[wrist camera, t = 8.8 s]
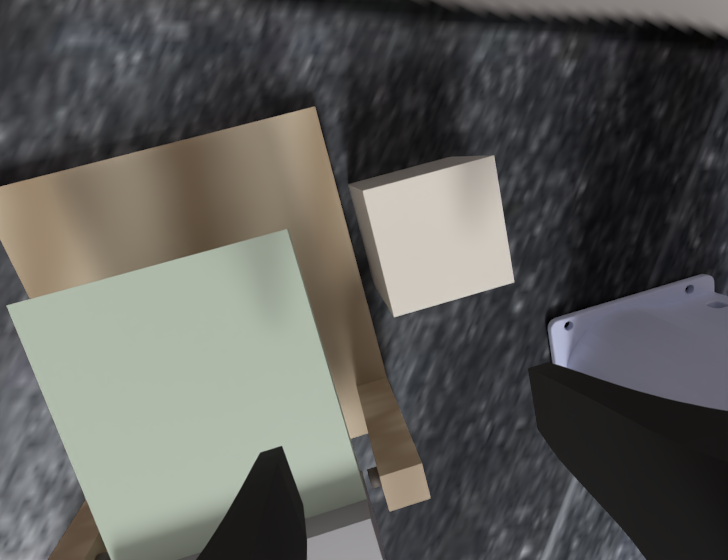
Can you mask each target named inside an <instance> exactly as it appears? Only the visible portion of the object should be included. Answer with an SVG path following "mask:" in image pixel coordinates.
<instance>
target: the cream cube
mask: <svg viewBox="0 0 728 560" xmlns="http://www.w3.org/2000/svg"><path fill="white" fill-rule="evenodd" d="M348 186H349V190H350V194H351V198H352V201H353V205H354V209H355V213H356V217H357V221H358V225H359V229H360V233H361V236H362V240H363V244H364V248H365V252H366V256H367V260H368V264H369V268H370V271H371V275H372V279H373V283H374V285H375V287H376V289H377V290H378V292H379V293H380V295H381V297H382V298H383V300H384V302H385V303H386V305H387V307H388V308H389V310H390V312H391V313H392V315H393V316H394V317H397V316H400V315H404V314H407V313H410V312H414V311H417V310H421V309H424V308H428V307H431V306H434V305H438V304H441V303H445V302H448V301H452V300H455V299H458V298H462V297H465V296H469V295H472V294H476V293H479V292H483V291H486V290H489V289H493V288H496V287H500V286H503V285H507V284H510V283H513V282H514V277H513V271H512V265H511V258H510V252H509V246H508V240H507V233H506V227H505V221H504V215H503V208H502V202H501V196H500V190H499V183H498V177H497V171H496V165H495V158H494V155H490V156H459V157H447V158H444V159H440V160H436V161H433V162H429V163H425V164H421V165H418V166H414V167H410V168H407V169H403V170H399V171H395V172H392V173H388V174H384V175H380V176H377V177H373V178H369V179H366V180H362V181H358V182H354V183H351V184H348Z"/></svg>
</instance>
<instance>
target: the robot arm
mask: <svg viewBox="0 0 728 560" xmlns="http://www.w3.org/2000/svg"><path fill="white" fill-rule="evenodd" d="M687 286H688V289H687V290H686V291H685V289H686V287H687ZM568 321H569V325H568V326H567V327H566V328H564V325H565V323H566V322H568ZM548 335H549V342H550V349H551V356H552V363H549V362H547V363H544V364H541V365H538V366H534V367H531V368H528V371H529V377H530V384H531V390H532V397H533V403H534V409H535V416H536V422H537V428H538V430H539V431H540V433H541V434H542V436H543V437H544V439H545V440H546V442H547V443H548V445H549V446H550V447H551V449H552V450H553V452H554V453H555V454H556V456H557V457H558V458H559V460H560V461H561V462H562V463H563V464H564V465H565V466H566V467H567V469H568V470H569V471H570V472H571V473H572V474H573V475H574V476H575V477H576V479H577V480H578V481H579V482H580V483H581V484H582V485H583V486H584V487H585V488H586V489H587V491H588V492H589V493H590V494H591V495H592V496H593V497H594V498H595V499H596V500H597V501H598V503H599V504H600V505H601V506H602V507H603V508H604V509H605V510H606V511H607V512H608V513H609V515H610V516H611V517H612V518H613V519H614V520H615V521H616V522H617V523H618V524H619V526H620V527H621V528H622V529H623V530H624V532H625V533H626V534H627V535H628V536H629V537H630V539H631V540H632V541H633V542H634V544H635V545H636V546H637V548H638V549H639V550H640V552H641V553H642V554H643V556H644V557H645V558H646V559H647V560H728V296H725V295H722V294H719V293H716V292H714V279H713V277H712V276H709V275H706V274H700V275H697V276H693V277H690V278H687V279H683V280H680V281H677V282H673V283H670V284H666V285H663V286H660V287H656V288H653V289H650V290H646V291H643V292H640V293H636V294H633V295H630V296H626V297H623V298H620V299H616V300H613V301H610V302H606V303H603V304H600V305H596V306H593V307H590V308H586V309H583V310H580V311H576V312H573V313H570V314H566V315H563V316H560V317H556V318H554V319H552V320H551V321H550V322H549V324H548ZM196 560H307V535H306V524H305V515H304V506H303V502H302V500H301V497H300V494H299V491H298V489H297V486H296V483H295V480H294V478H293V475H292V472H291V469H290V466H289V464H288V461H287V458H286V455H285V453H284V450H283V447H282V446H279V447H276V448H273V449H270V450H267V451H263V452H260V454H259V455H258V457H257V459H256V461H255V462H254V464H253V466H252V468H251V470H250V472H249V474H248V476H247V477H246V479H245V481H244V483H243V485H242V487H241V489H240V490H239V492H238V494H237V496H236V497H235V499H234V501H233V503H232V504H231V506H230V508H229V510H228V511H227V513H226V515H225V516H224V518H223V520H222V521H221V523H220V524H219V526H218V528H217V529H216V531H215V532H214V534H213V535H212V537H211V539H210V540H209V542H208V543H207V545H206V546H205V548H204V549H203V550H202V552H201V553H200V555H199V556H198V557H197V559H196Z"/></svg>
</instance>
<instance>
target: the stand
mask: <svg viewBox="0 0 728 560" xmlns="http://www.w3.org/2000/svg"><path fill="white" fill-rule="evenodd" d="M285 229H289V232H290V236H291V239H292V242H293V246H294V249H295V253H296V256H297V259H298V263H299V266H300V269H301V273H302V276H303V280H304V283H305V286H306V290H307V293H308V297H309V300H310V303H311V307H312V310H313V313H314V317H315V320H316V324H317V327H318V330H319V334H320V337H321V341H322V344H323V347H324V351H325V354H326V358H327V361H328V364H329V368H330V371H331V374H332V378H333V381H334V385H335V388H336V391H337V395H338V398H339V402H340V405H341V408H342V412H343V415H344V418H345V422H346V425H347V429H348V432H349V435H350V439H351V438H354V437H358V436H361V435H364V434H367V433H368V434H369V438H370V442H371V446H372V450H373V454H374V457H375V461H376V465H377V467H374V468H370V469H367V471H368V475H369V479H370V483H371V486H372V489H373V488H376V487H379V486H382V487H383V491H384V494H385V498H386V501H387V504H388V508H389V511H393V510H396V509H399V508H402V507H405V506H408V505H412V504H415V503H418V502H421V501H424V500H427V499H430V498H431V497H430V493H429V490H428V486H427V482H426V478H425V474H424V470H423V466H422V463H421V460H420V458H419V455H418V453H417V450H416V448H415V445H414V443H413V440H412V438H411V436H410V433H409V431H408V428H407V426H406V423H405V421H404V418H403V416H402V413H401V411H400V409H399V406H398V404H397V401H396V399H395V396H394V394H393V391H392V389H391V386H390V384H389V382H388V379H387V376H386V372H385V369H384V365H383V361H382V357H381V354H380V350H379V346H378V342H377V338H376V335H375V331H374V327H373V323H372V320H371V316H370V312H369V308H368V304H367V301H366V297H365V293H364V289H363V286H362V282H361V278H360V274H359V270H358V267H357V263H356V259H355V255H354V252H353V248H352V244H351V240H350V237H349V233H348V229H347V225H346V221H345V218H344V214H343V210H342V206H341V203H340V199H339V195H338V191H337V187H336V184H335V180H334V176H333V172H332V169H331V165H330V161H329V157H328V153H327V150H326V146H325V142H324V138H323V135H322V131H321V127H320V123H319V119H318V116H317V112H316V108H315V107H311V108H307V109H303V110H299V111H295V112H291V113H287V114H283V115H279V116H275V117H271V118H267V119H263V120H260V121H256V122H252V123H248V124H244V125H240V126H236V127H232V128H228V129H224V130H220V131H216V132H212V133H209V134H205V135H201V136H197V137H193V138H189V139H185V140H181V141H177V142H173V143H169V144H165V145H161V146H158V147H154V148H150V149H146V150H142V151H138V152H134V153H130V154H126V155H122V156H118V157H114V158H110V159H106V160H103V161H99V162H95V163H91V164H87V165H83V166H79V167H75V168H71V169H67V170H63V171H59V172H55V173H52V174H48V175H44V176H40V177H36V178H32V179H28V180H24V181H20V182H16V183H12V184H8V185H4V186H1V187H0V240H1V242H2V244H3V246H4V248H5V250H6V252H7V254H8V256H9V258H10V260H11V262H12V264H13V266H14V268H15V270H16V272H17V274H18V276H19V278H20V280H21V282H22V284H23V286H24V288H25V290H26V292H27V294H28V296H29V298H30V299H32V298H36V297H40V296H43V295H47V294H51V293H54V292H58V291H62V290H65V289H69V288H73V287H76V286H80V285H84V284H87V283H91V282H95V281H98V280H102V279H106V278H109V277H113V276H117V275H120V274H124V273H128V272H131V271H135V270H139V269H142V268H146V267H150V266H153V265H157V264H160V263H164V262H168V261H171V260H175V259H179V258H182V257H186V256H190V255H193V254H197V253H201V252H204V251H208V250H212V249H215V248H219V247H223V246H226V245H230V244H234V243H237V242H241V241H245V240H248V239H252V238H256V237H259V236H263V235H267V234H270V233H274V232H278V231H281V230H285ZM48 560H111V559H110V556H109V554H108V551H107V549H106V547H105V544H104V542H103V539H102V537H101V534H100V532H99V530H98V527H97V525H96V522H95V520H94V517H93V515H92V513H91V510H90V508H89V505H88V503H87V500H85V501H84V503H83V505H82V506H81V508H80V509H79V511H78V513H77V514H76V516H75V517H74V519H73V520H72V522H71V524H70V525H69V527H68V528H67V530H66V532H65V533H64V535H63V536H62V538H61V539H60V541H59V543H58V544H57V546H56V547H55V549H54V551H53V552H52V554H51V555H50V557H49V558H48Z"/></svg>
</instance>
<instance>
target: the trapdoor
mask: <svg viewBox="0 0 728 560" xmlns="http://www.w3.org/2000/svg"><path fill="white" fill-rule="evenodd" d="M7 308H8V311H9V313H10V315H11V318H12V320H13V323H14V325H15V328H16V330H17V332H18V335H19V337H20V340H21V342H22V345H23V347H24V349H25V352H26V354H27V357H28V359H29V362H30V364H31V367H32V369H33V371H34V374H35V376H36V379H37V381H38V384H39V386H40V388H41V391H42V393H43V396H44V398H45V401H46V403H47V405H48V408H49V410H50V413H51V415H52V418H53V420H54V422H55V425H56V427H57V430H58V432H59V435H60V437H61V440H62V442H63V444H64V447H65V449H66V452H67V454H68V457H69V459H70V461H71V464H72V466H73V469H74V471H75V474H76V476H77V478H78V481H79V483H80V486H81V488H82V491H83V493H84V495H85V498H86V500H87V503H88V505H89V508H90V510H91V513H92V515H93V517H94V520H95V522H96V525H97V527H98V530H99V532H100V534H101V537H102V539H103V542H104V544H105V547H106V549H107V551H108V554H109V556H110V559H111V560H196V559H197V557H198V556H199V555H200V553H201V552H202V550H203V549H204V548H205V546H206V545H207V543H208V542H209V540H210V539H211V537H212V535H213V534H214V532H215V531H216V529H217V528H218V526H219V524H220V523H221V521H222V520H223V518H224V516H225V515H226V513H227V511H228V510H229V508H230V506H231V504H232V503H233V501H234V499H235V497H236V496H237V494H238V492H239V490H240V489H241V487H242V485H243V483H244V481H245V479H246V477H247V476H248V474H249V472H250V470H251V468H252V466H253V464H254V462H255V461H256V459H257V457H258V455H259V454H260V452H263V451H267V450H270V449H273V448H276V447H279V446H282V447H283V450H284V453H285V455H286V458H287V461H288V464H289V466H290V469H291V472H292V475H293V478H294V480H295V483H296V486H297V489H298V491H299V494H300V497H301V500H302V502H303V506H304V515H305V524H306V535H307V560H385V555H384V550H383V545H382V540H381V536H380V531H379V528H378V525H377V521H376V518H375V514H374V511H373V508H372V504H371V501H370V497H369V494H368V491H367V487H366V484H365V480H364V477H363V474H362V471H360V469H359V466H358V463H357V459H356V456H355V452H354V449H353V446H352V442H351V439H350V435H349V432H348V429H347V425H346V422H345V418H344V415H343V412H342V408H341V405H340V402H339V398H338V395H337V391H336V388H335V385H334V381H333V378H332V374H331V371H330V368H329V364H328V361H327V358H326V354H325V351H324V347H323V344H322V341H321V337H320V334H319V330H318V327H317V324H316V320H315V317H314V313H313V310H312V307H311V303H310V300H309V297H308V293H307V290H306V286H305V283H304V280H303V276H302V273H301V269H300V266H299V263H298V259H297V256H296V253H295V249H294V246H293V242H292V239H291V236H290V232H289V229H285V230H281V231H278V232H274V233H270V234H267V235H263V236H259V237H256V238H252V239H248V240H245V241H241V242H237V243H234V244H230V245H226V246H223V247H219V248H215V249H212V250H208V251H204V252H201V253H197V254H193V255H190V256H186V257H182V258H179V259H175V260H171V261H168V262H164V263H160V264H157V265H153V266H150V267H146V268H142V269H139V270H135V271H131V272H128V273H124V274H120V275H117V276H113V277H109V278H106V279H102V280H98V281H95V282H91V283H87V284H84V285H80V286H76V287H73V288H69V289H65V290H62V291H58V292H54V293H51V294H47V295H43V296H40V297H36V298H32V299H29V300H25V301H21V302H18V303H14V304H11V305H7Z"/></svg>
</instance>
